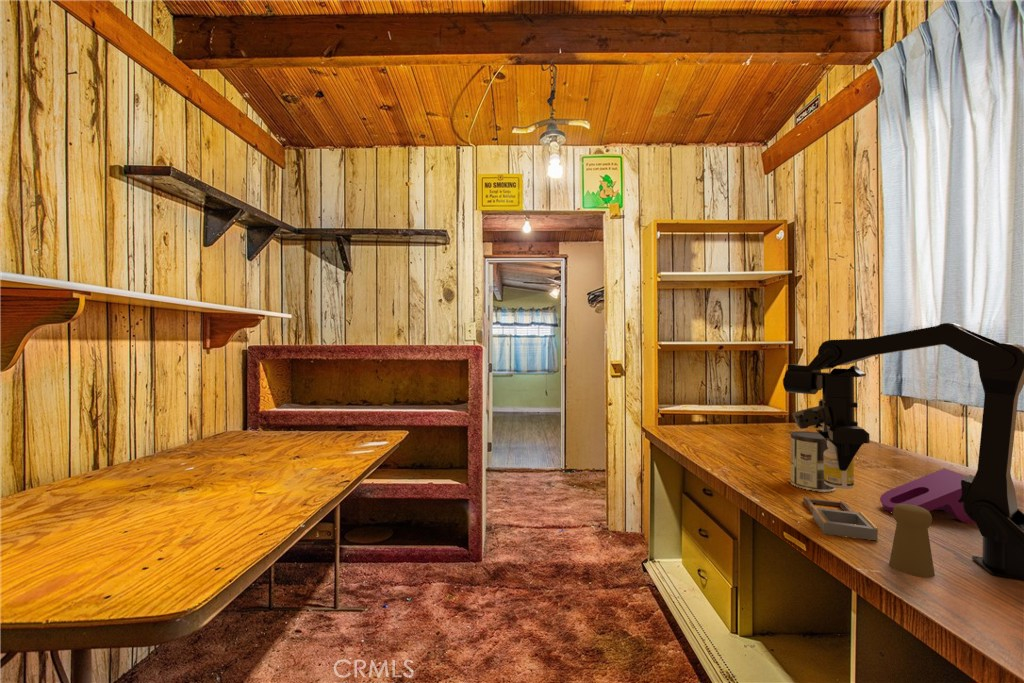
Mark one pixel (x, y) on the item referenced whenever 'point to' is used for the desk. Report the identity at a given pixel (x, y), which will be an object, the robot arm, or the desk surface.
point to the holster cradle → (810, 505)
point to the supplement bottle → (836, 470)
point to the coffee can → (808, 461)
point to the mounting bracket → (930, 494)
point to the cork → (912, 541)
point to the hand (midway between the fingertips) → (838, 467)
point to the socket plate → (845, 523)
